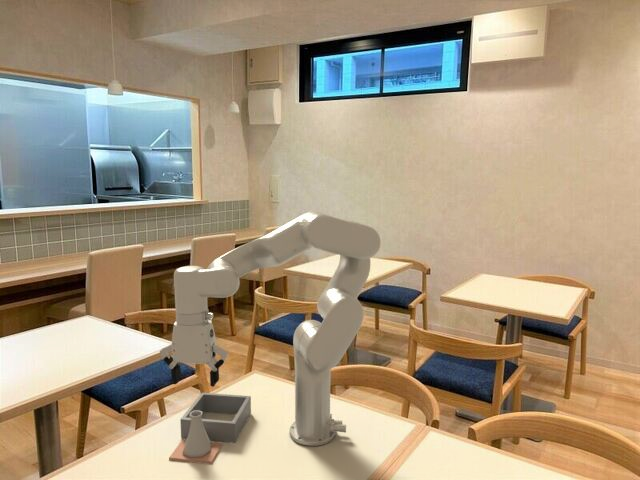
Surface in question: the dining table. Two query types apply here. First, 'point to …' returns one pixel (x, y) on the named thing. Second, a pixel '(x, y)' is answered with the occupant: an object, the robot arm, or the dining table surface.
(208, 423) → the box frame
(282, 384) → the dining table surface
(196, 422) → the flask
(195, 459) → the mat
